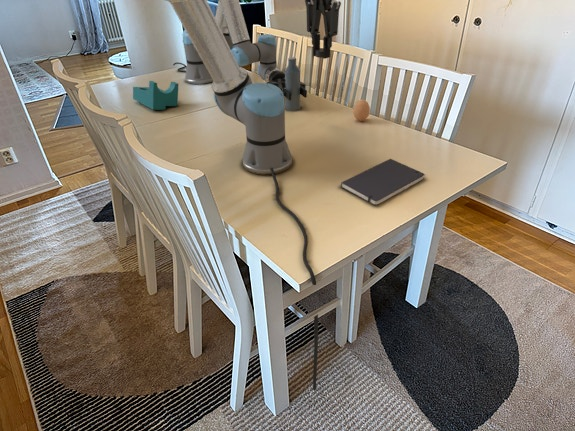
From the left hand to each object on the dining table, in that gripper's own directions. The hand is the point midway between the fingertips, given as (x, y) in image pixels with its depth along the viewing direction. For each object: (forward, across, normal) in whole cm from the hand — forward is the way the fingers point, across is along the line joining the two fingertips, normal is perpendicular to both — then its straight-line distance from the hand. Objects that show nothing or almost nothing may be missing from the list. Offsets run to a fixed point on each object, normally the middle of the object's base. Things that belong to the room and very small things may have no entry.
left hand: (298, 95), depth 156 cm
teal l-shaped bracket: (-35, +50, -7) cm, 61 cm away
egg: (+18, -18, -7) cm, 26 cm away
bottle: (-5, 0, -7) cm, 9 cm away
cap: (+14, -3, +19) cm, 23 cm away
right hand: (+14, -3, +17) cm, 22 cm away
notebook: (+60, 0, -7) cm, 60 cm away
